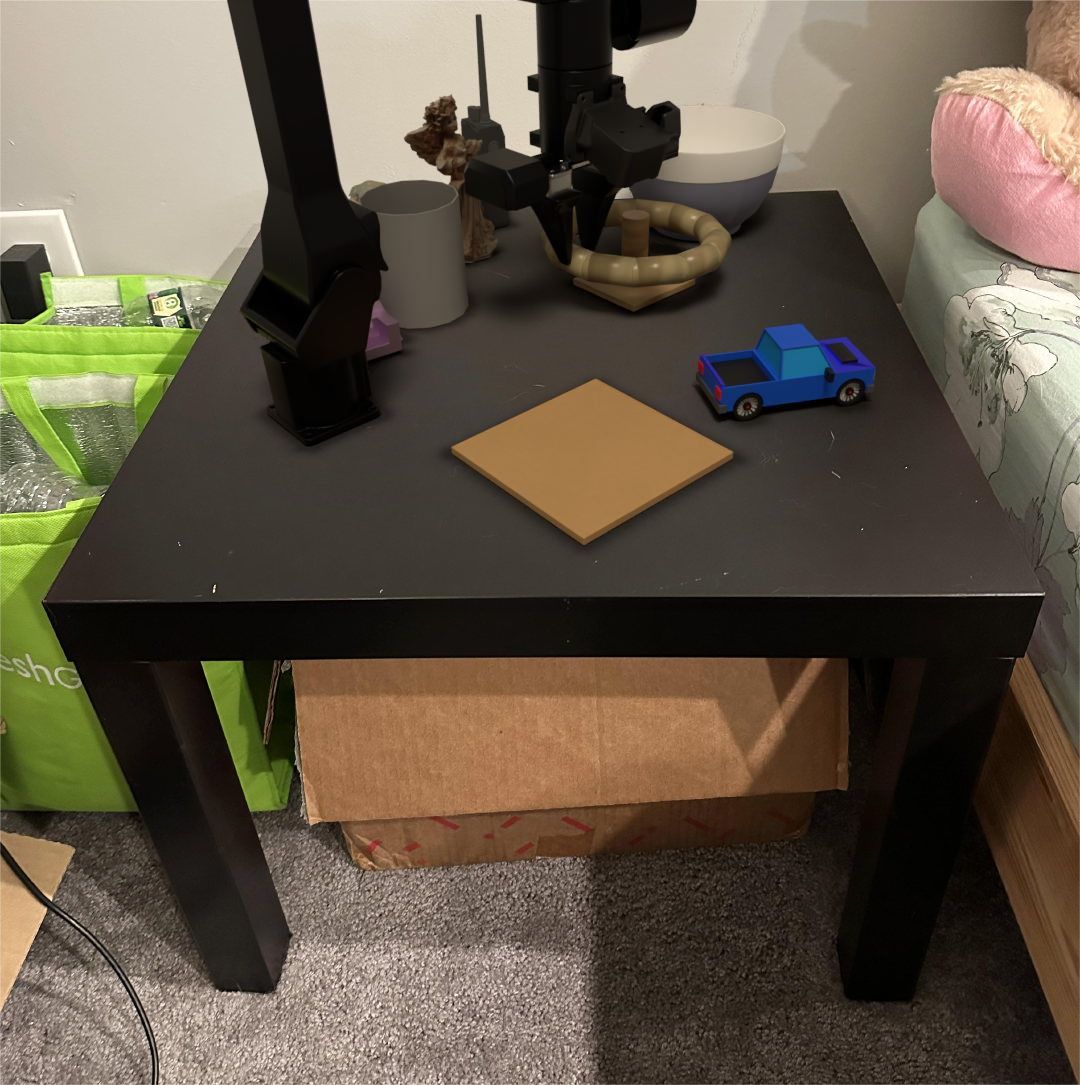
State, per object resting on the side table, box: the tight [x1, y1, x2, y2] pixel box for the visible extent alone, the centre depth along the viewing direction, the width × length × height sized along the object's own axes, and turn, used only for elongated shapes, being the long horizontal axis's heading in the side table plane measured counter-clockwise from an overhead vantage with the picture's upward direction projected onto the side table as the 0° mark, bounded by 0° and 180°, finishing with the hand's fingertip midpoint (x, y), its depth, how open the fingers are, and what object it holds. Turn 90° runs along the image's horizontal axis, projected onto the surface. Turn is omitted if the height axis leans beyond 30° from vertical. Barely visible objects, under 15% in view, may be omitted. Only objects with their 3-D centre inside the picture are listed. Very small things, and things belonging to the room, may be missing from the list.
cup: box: [358, 179, 469, 330], centre depth 83 cm, size 8×8×10 cm
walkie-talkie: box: [460, 13, 510, 230], centre depth 95 cm, size 5×3×20 cm
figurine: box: [403, 93, 499, 264], centre depth 90 cm, size 7×6×15 cm
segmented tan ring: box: [540, 198, 732, 287], centre depth 86 cm, size 17×17×2 cm
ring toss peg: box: [572, 210, 696, 312], centre depth 86 cm, size 8×8×7 cm
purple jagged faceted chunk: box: [365, 300, 404, 362], centre depth 79 cm, size 8×7×6 cm
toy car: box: [695, 323, 877, 422], centre depth 71 cm, size 7×12×5 cm, turn 101°
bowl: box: [628, 104, 787, 242], centre depth 96 cm, size 16×16×10 cm
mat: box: [450, 378, 734, 546], centre depth 67 cm, size 14×14×1 cm
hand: (576, 259), depth 82 cm, fingers closed on segmented tan ring, 2 cm apart
